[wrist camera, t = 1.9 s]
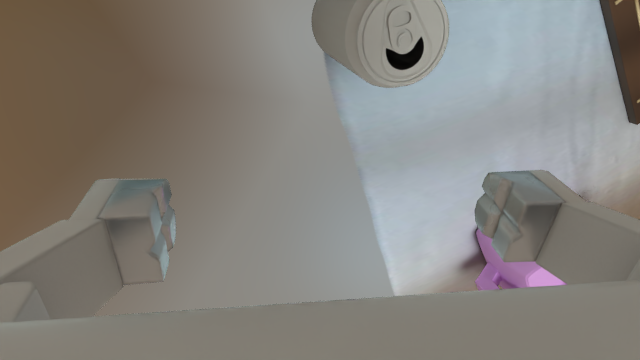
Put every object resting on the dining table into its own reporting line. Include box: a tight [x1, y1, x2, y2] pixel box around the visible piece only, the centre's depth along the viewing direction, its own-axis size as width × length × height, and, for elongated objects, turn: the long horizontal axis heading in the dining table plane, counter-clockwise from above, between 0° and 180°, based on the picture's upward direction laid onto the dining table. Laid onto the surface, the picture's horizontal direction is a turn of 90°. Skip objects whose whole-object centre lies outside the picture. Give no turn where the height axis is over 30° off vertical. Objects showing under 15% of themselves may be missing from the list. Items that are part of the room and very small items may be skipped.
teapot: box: [475, 229, 567, 291], centre depth 44 cm, size 18×11×10 cm, turn 119°
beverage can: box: [312, 0, 449, 88], centre depth 28 cm, size 6×6×12 cm
